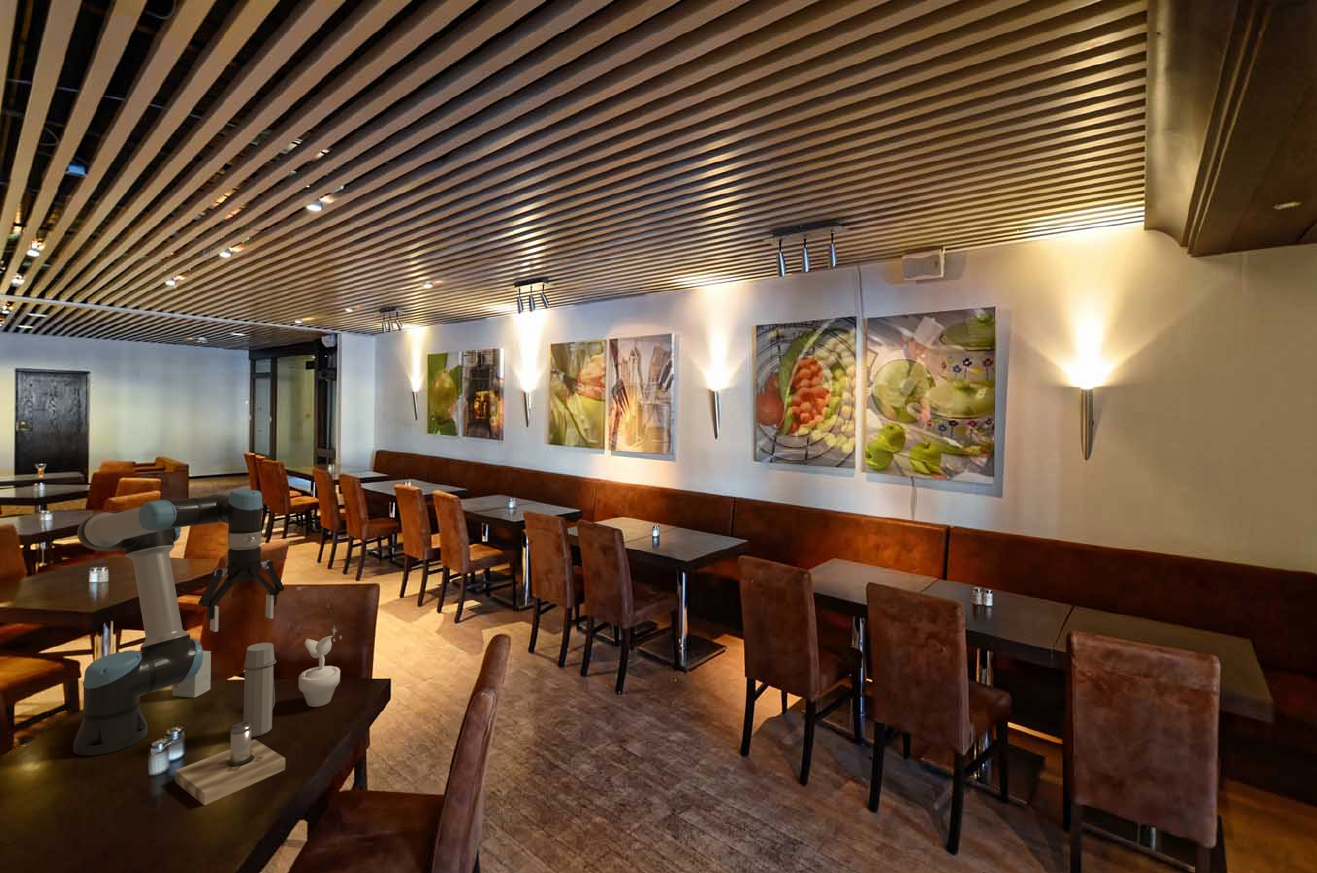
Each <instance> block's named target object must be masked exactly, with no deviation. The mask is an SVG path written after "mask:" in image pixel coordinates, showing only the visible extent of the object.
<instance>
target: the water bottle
mask: <svg viewBox="0 0 1317 873" xmlns="http://www.w3.org/2000/svg"><path fill="white" fill-rule="evenodd" d="M274 650H275V649H274V643H272V642H260V643H254V644H252V645H249V646H247V647H246V654H245V660H244V663H243V666H244V683H243V684H244V685H243V686H244V688H243V689H244V690H243V719H242V720H243V721H242V722H250V723H251V724H252V726H251V738H255V737H261V736H263V735H265V734H267V733H269V732H270V731H271V730H272V728H273V709H274V708H275V703H276V694H275V693H276V692H275V682H274V678H275V677H274V664H276V663H277V660H276V659H275V652H274Z"/></svg>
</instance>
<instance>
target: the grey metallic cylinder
mask: <svg viewBox="0 0 1317 873" xmlns="http://www.w3.org/2000/svg"><path fill="white" fill-rule="evenodd" d="M251 726H252V724H251V723H250V722H243V721H241V722H237V723H236V724H234V725H232V726H231V727H230V746H229V748H230V767H240V766H243V765H245V764H248V763H250V762H251V741H252V737H251Z"/></svg>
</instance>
